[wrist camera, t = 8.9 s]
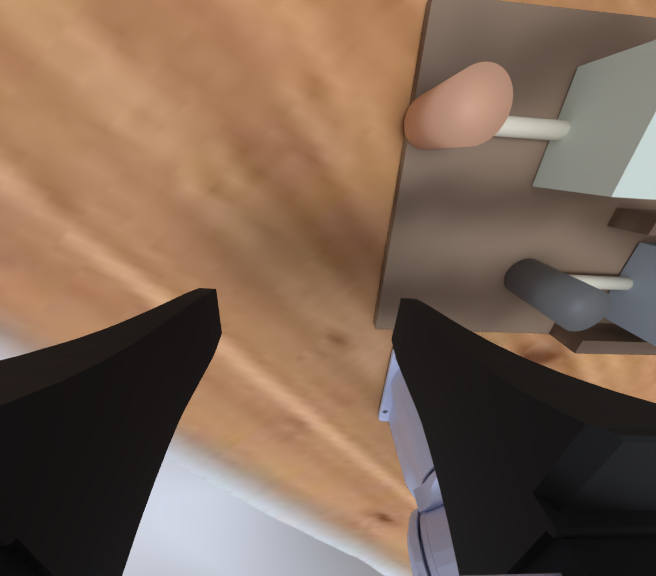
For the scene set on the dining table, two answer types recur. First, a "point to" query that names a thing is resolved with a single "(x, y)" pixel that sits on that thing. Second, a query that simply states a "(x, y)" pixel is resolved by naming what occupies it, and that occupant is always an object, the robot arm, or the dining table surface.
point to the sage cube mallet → (557, 123)
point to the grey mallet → (592, 294)
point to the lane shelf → (508, 179)
